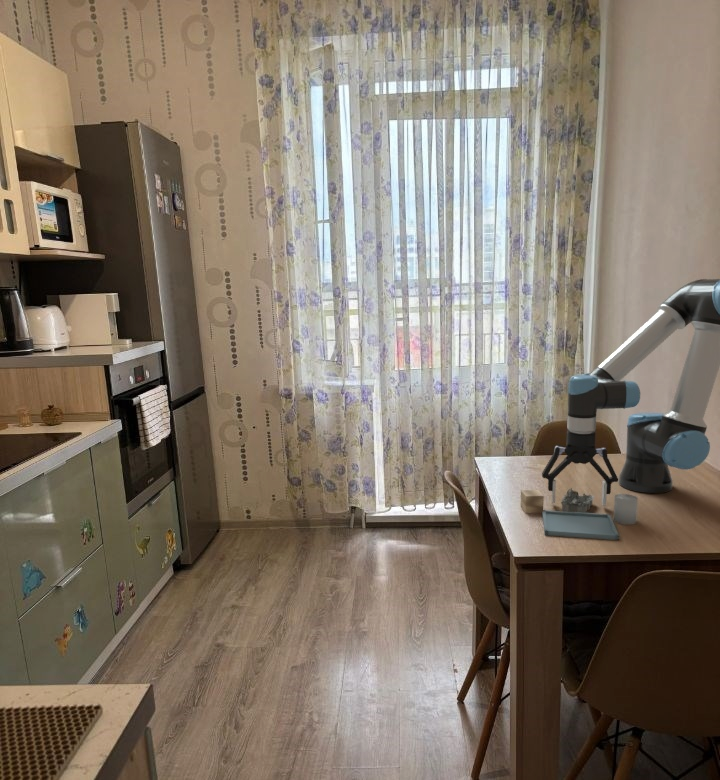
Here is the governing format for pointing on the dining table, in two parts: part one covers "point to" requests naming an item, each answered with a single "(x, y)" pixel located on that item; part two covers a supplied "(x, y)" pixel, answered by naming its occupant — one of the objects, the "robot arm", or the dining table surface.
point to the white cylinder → (625, 509)
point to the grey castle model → (576, 502)
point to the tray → (579, 525)
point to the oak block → (532, 501)
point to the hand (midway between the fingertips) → (578, 503)
